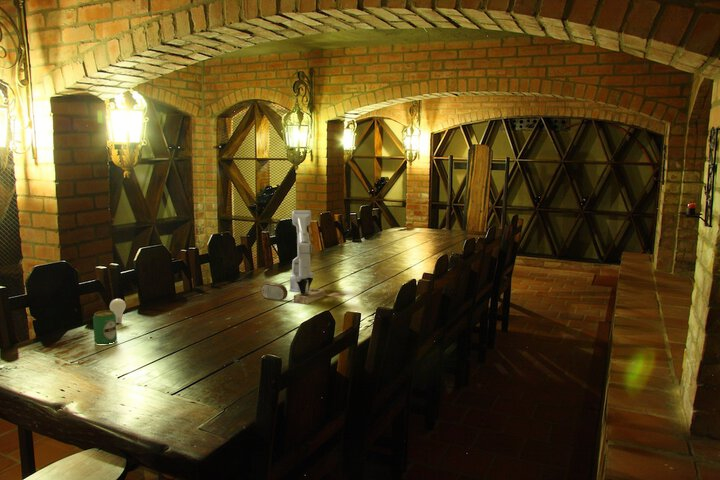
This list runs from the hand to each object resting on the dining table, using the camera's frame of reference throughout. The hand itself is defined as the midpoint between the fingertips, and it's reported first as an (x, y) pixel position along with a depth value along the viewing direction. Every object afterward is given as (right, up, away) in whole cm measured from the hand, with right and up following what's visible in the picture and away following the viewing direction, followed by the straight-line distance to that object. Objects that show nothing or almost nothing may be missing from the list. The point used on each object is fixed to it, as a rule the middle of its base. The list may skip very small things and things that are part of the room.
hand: (304, 292), depth 277 cm
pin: (0, -3, 0) cm, 3 cm away
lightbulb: (-77, -10, -39) cm, 87 cm away
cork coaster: (+16, -3, +13) cm, 21 cm away
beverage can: (-72, -14, -62) cm, 96 cm away
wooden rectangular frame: (+2, -4, +5) cm, 7 cm away
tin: (-16, -4, +4) cm, 17 cm away
